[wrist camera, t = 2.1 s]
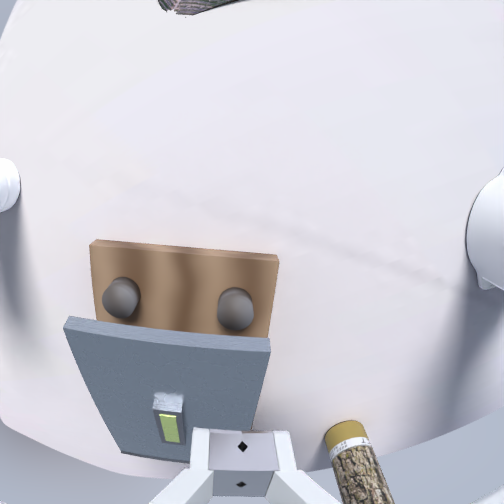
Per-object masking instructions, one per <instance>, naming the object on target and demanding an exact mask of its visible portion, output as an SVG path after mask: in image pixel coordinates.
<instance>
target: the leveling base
mask: <svg viewBox="0 0 504 504" xmlns="http://www.w3.org/2000/svg"><path fill="white" fill-rule="evenodd" d="M89 248H90V263H91V276H92V286H93V295H94V304H95V312H96V319H97V321H103V322H110V323H117V324H124V325H131V326H138V327H146V328H154V329H163V330H172V331H181V332H191V333H202V334H214V335H227V336H242V337H259V338H267V337H268V331H269V325H270V319H271V313H272V306H273V300H274V293H275V287H276V280H277V274H278V267H279V259H278V257H277V255H273V254H262V253H250V252H238V251H226V250H214V249H203V248H191V247H179V246H168V245H156V244H144V243H132V242H121V241H109V240H97V239H96V240H95V241H94V242H92V243H91V244H90V245H89ZM252 424H253V422H252ZM251 429H252V426H251ZM251 429H250V431H251Z"/></svg>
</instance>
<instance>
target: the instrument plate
mask: <svg viewBox="0 0 504 504" xmlns="http://www.w3.org/2000/svg"><path fill="white" fill-rule="evenodd" d="M63 329H64V332H65V335H66V338H67V340H68V343H69V345H70V348H71V351H72V353H73V356H74V358H75V360H76V363H77V365H78V368H79V370H80V372H81V374H82V377H83V379H84V381H85V383H86V386H87V388H88V390H89V392H90V394H91V396H92V398H93V400H94V402H95V404H96V406H97V408H98V410H99V412H100V414H101V416H102V418H103V420H104V422H105V424H106V425H107V427H108V429H109V431H110V433H111V435H112V436H113V438H114V440H115V442H116V443H117V445H118V447H119V448H120V450H121V453H123V454H128V455H134V456H139V457H145V458H151V459H157V460H164V461H172V462H180V463H189V464H190V456H191V444H192V433H193V428H194V427H196V428H208V429H219V430H232V431H241V430H243V431H250V429H251V426H252V422H253V418H254V415H255V411H256V407H257V404H258V400H259V396H260V392H261V388H262V385H263V381H264V377H265V373H266V369H267V365H268V361H269V357H270V353H271V349H270V339H269V338H259V337H242V336H227V335H214V334H202V333H191V332H181V331H172V330H163V329H154V328H146V327H138V326H131V325H124V324H117V323H110V322H103V321H97V320H91V319H85V318H79V317H73V316H69V317H68V319H67V321H66V323H65V325H64V327H63ZM209 438H210V435H209Z"/></svg>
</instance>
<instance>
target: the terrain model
mask: <svg viewBox="0 0 504 504" xmlns="http://www.w3.org/2000/svg"><path fill="white" fill-rule="evenodd" d="M158 1H159V3H160V5H161V7H162V9H163V10H165V11H166V12H167V10H172V9H175V10H174V11H176V12H177V13H176V14H183V15H195V14H197V13H200V12H203V11H206V10H208V9H211V8H214V7H218V6H221V5H224V4H227V3H230V2H234V1H237V0H158ZM185 18H186V17H185Z"/></svg>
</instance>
